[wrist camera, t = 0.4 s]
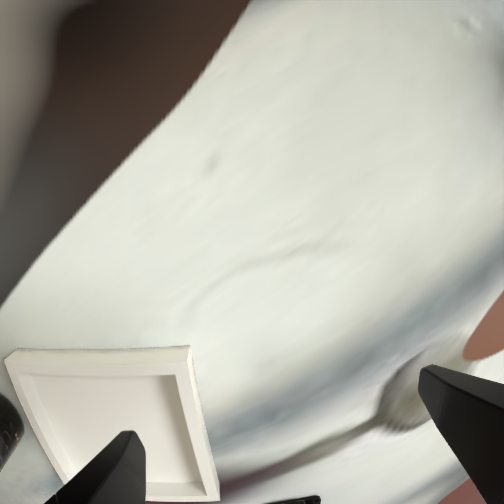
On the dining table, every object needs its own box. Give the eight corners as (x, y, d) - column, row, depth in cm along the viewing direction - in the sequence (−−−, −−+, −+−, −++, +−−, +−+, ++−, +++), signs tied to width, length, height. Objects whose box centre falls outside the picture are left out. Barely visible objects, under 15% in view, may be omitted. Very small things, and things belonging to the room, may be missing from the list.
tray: (219, 482, 26) (219, 500, 23) (75, 475, 24) (68, 490, 22) (190, 345, 23) (187, 361, 20) (17, 348, 22) (3, 360, 19)
